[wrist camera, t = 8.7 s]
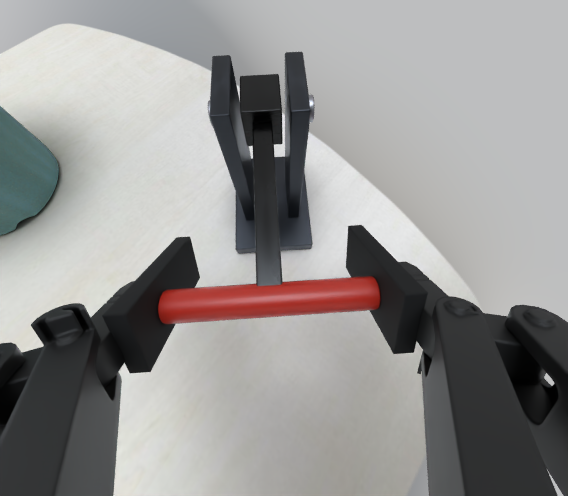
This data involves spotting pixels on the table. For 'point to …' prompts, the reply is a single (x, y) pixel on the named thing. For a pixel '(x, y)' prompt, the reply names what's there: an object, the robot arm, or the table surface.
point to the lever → (266, 241)
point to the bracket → (286, 168)
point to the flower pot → (23, 173)
